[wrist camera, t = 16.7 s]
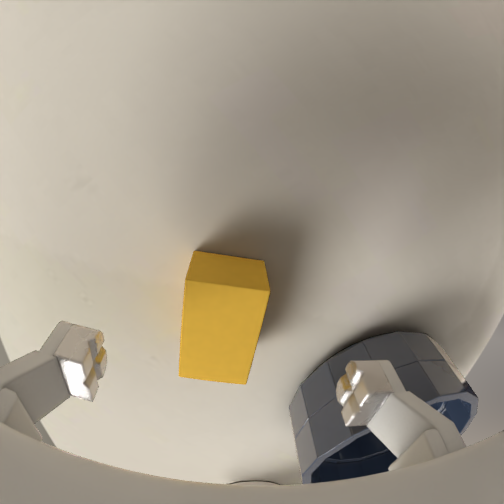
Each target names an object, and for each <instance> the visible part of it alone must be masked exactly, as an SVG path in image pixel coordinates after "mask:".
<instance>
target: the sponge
mask: <svg viewBox="0 0 504 504" xmlns="http://www.w3.org/2000/svg"><path fill="white" fill-rule="evenodd" d="M270 292H271V291H270V286H269V282H268V277H267V272H266V267H265V263H264V261H261V260H254V259H247V258H241V257H234V256H227V255H221V254H214V253H207V252H201V251H194V252H193V255H192V258H191V262H190V265H189V269H188V272H187V275H186V279H185V288H184V300H183V312H182V326H181V341H180V358H179V376H180V377H186V378H193V379H200V380H208V381H216V382H225V383H235V384H246V383H247V379H248V376H249V372H250V368H251V365H252V361H253V357H254V353H255V350H256V346H257V342H258V338H259V335H260V331H261V327H262V323H263V319H264V315H265V311H266V308H267V304H268V300H269V296H270Z"/></svg>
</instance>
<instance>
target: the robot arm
mask: <svg viewBox="0 0 504 504" xmlns="http://www.w3.org/2000/svg"><path fill="white" fill-rule="evenodd" d="M103 342H104V336H103V333H102V332H101V331H98V330H95V329H91V328H87V327H84V326H80V325H76V324H72V323H68V322H65V321H61V322H59V323H58V324H57V326H56V327H55V328H54V330H53V331H52V333H51V334H50V336H49V337H48V339H47V340H46V342H45V343H44V345H43V346H42V348H41V349H40V351H36V350H35V351H33V352H31V353H29V354H27V355H24V356H22V357H20V358H18V359H16V360H14V361H12V362H10V363H8V364H6V365H4V366H2V367H0V504H504V430H503V431H501V432H499V433H497V434H495V435H493V436H491V437H489V438H486V439H484V440H482V441H480V442H477V443H475V444H473V445H470V446H468V447H466V445H465V443H464V441H463V439H462V437H461V435H460V433H459V431H458V430H457V428H456V426H455V424H454V422H452V421H451V420H450V419H448V418H447V417H445V416H444V415H442V414H441V413H440V412H438V411H437V410H435V409H434V408H432V407H431V406H430V405H428V404H427V403H425V402H424V401H423V400H421V399H420V398H418V397H417V396H415V395H414V394H413V393H411V392H410V391H406V390H405V388H404V386H403V384H402V382H401V381H400V379H399V377H398V375H397V373H396V371H395V369H394V368H393V366H392V364H391V362H390V361H388V360H375V361H374V360H371V361H350V362H349V363H348V364H347V366H346V368H345V370H346V374H344V375H343V376H341V377H340V379H339V381H338V383H337V388H336V397H337V400H338V403H340V404H341V405H342V406H343V409H342V411H341V413H342V416H343V419H344V422H345V425H346V427H347V426H362V425H367V427H368V428H369V429H370V430H371V431H372V432H373V433H374V434H375V435H376V437H377V438H378V439H379V440H380V441H381V442H382V443H383V444H384V445H385V446H386V447H387V448H388V449H389V450H390V451H391V452H392V453H393V454H394V455H395V456H396V457H397V459H396V460H395V461H394V462H393V463H392V464H391V465H390V466H389V468H388V470H389V471H387V472H383V473H378V474H373V475H368V476H363V477H357V478H351V479H344V480H337V481H329V482H320V483H309V484H295V485H264V486H258V485H227V484H213V483H202V482H193V481H185V480H178V479H171V478H165V477H159V476H154V475H149V474H144V473H139V472H134V471H130V470H126V469H122V468H118V467H114V466H110V465H107V464H103V463H100V462H96V461H93V460H90V459H87V458H84V457H81V456H78V455H75V454H72V453H69V452H66V451H64V450H61V449H58V448H56V447H53V446H51V445H48V444H46V443H43V442H42V440H43V438H42V435H41V434H40V432H39V431H38V429H37V428H36V426H35V425H34V424H35V423H36V422H38V421H39V420H41V419H42V418H43V417H44V416H46V415H47V414H48V413H50V412H51V411H52V410H54V409H55V408H56V407H58V406H59V405H60V404H61V403H63V402H64V401H65V400H67V399H68V398H69V397H70V396H74V397H77V398H81V399H84V400H88V401H92V402H93V400H94V398H95V395H96V393H97V390H98V388H99V386H98V382H97V380H99V379H100V378H102V377H103V375H104V373H105V370H106V364H107V354H106V350H105V349H104V348H103V346H102V344H103Z"/></svg>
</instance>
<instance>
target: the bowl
mask: <svg viewBox="0 0 504 504" xmlns="http://www.w3.org/2000/svg"><path fill="white" fill-rule="evenodd" d="M371 360H374V361H375V360H388V361H390V362H391V364H392V366H393V368H394V369H395V371H396V373H397V375H398V377H399V379H400V381H401V382H402V384H403V386H404V388H405V390H406V391H410V392H411V393H413V394H414V395H415V396H417V397H418V398H420V399H421V400H423V401H424V402H425V403H427V404H428V405H430V406H431V407H432V408H434V409H435V410H437V411H438V412H440V413H441V414H442V415H444V416H445V417H447V418H448V419H450V420H451V421H452V422H454V424H455V426H456V428H457V430H458V431H459V433H460V435H462V434H463V433H464V432H465V431H466V429H467V428H468V426H469V425H470V423H471V421H472V420H473V418H474V416H475V415H476V413H477V407H478V397H477V396H476V394H475V393H474V392H473V390H472V388H471V387H470V386H469V384H468V383H467V381H466V380H465V378H464V377H463V375H462V374H461V373H460V371H459V370H458V369H457V367H456V366H455V364H454V363H453V362H452V360H451V359H450V358H449V356H448V355H447V354H446V352H445V351H444V350H443V348H442V347H441V346H440V344H438V343H437V342H436V341H434V340H433V339H432V338H431V337H429V336H428V335H427V334H425V333H413V332H398V331H397V332H394V333H389V334H383V335H379V336H375V337H372V338H368V339H365V340H363V341H360V342H358V343H355V344H353V345H351V346H349V347H347V348H345V349H343V350H342V351H340V352H338V353H337V354H335V355H334V356H332V357H331V358H329V359H328V360H327V361H325V362H324V363H323V364H322V365H320V366H319V367H318V368H317V369H316V370H315V371H314V372H313V373H312V374H311V375H310V376H309V377H308V378H307V379H306V380H305V381H304V382H303V383H302V384H301V385H300V386H299V388H298V390H297V392H296V394H295V396H294V398H293V400H292V402H291V404H290V406H289V411H290V417H291V424H292V430H293V435H294V441H295V447H296V452H297V458H298V463H299V469H300V475H301V480H302V484H309V483H320V482H329V481H337V480H344V479H351V478H357V477H363V476H368V475H373V474H378V473H383V472H387V471H389V470H388V468H389V466H390V465H391V464H392V463H393V462H394V461H395V460H396V459H397V457H396V456H395V455H394V454H393V453H392V452H391V451H390V450H389V449H388V448H387V447H386V446H385V445H384V444H383V443H382V442H381V441H380V440H379V439H378V438H377V437H376V435H375V434H374V433H373V432H372V431H371V430H370V429H369V428H368V427H367V425H362V426H347V427H346V425H345V422H344V419H343V416H342V413H341V411H342V409H343V406H342V405H341V404H340V403H338V400H337V397H336V388H337V383H338V381H339V379H340V377H341V376H343V375H344V374H346V370H345V368H346V366H347V364H348V363H349V362H350V361H371Z"/></svg>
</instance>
